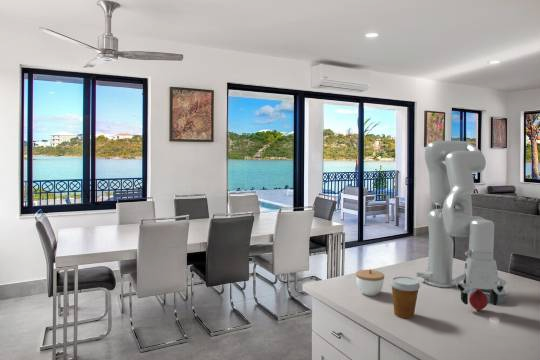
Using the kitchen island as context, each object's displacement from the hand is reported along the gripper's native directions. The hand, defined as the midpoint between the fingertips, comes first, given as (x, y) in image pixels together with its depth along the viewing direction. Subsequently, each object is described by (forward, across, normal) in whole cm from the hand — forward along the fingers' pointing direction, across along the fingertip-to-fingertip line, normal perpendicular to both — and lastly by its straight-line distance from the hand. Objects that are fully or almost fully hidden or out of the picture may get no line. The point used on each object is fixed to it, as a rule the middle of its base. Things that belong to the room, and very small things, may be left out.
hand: (478, 303), depth 138 cm
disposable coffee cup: (+3, -27, -6) cm, 28 cm away
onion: (+3, 0, 0) cm, 3 cm away
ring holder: (+2, +9, +14) cm, 16 cm away
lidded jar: (+3, -35, +14) cm, 38 cm away
